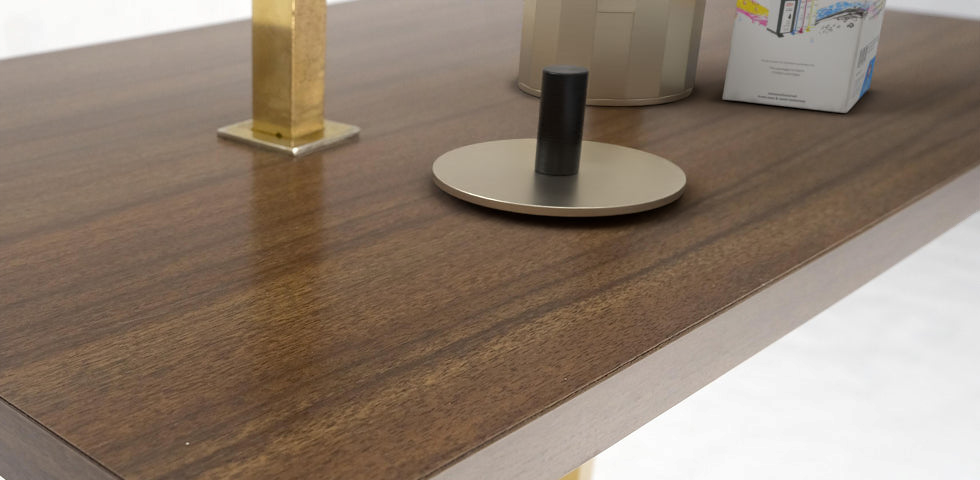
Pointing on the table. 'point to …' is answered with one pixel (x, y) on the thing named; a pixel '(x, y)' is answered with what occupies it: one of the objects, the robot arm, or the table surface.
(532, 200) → the lid
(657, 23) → the pot
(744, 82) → the ink box
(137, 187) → the table surface
